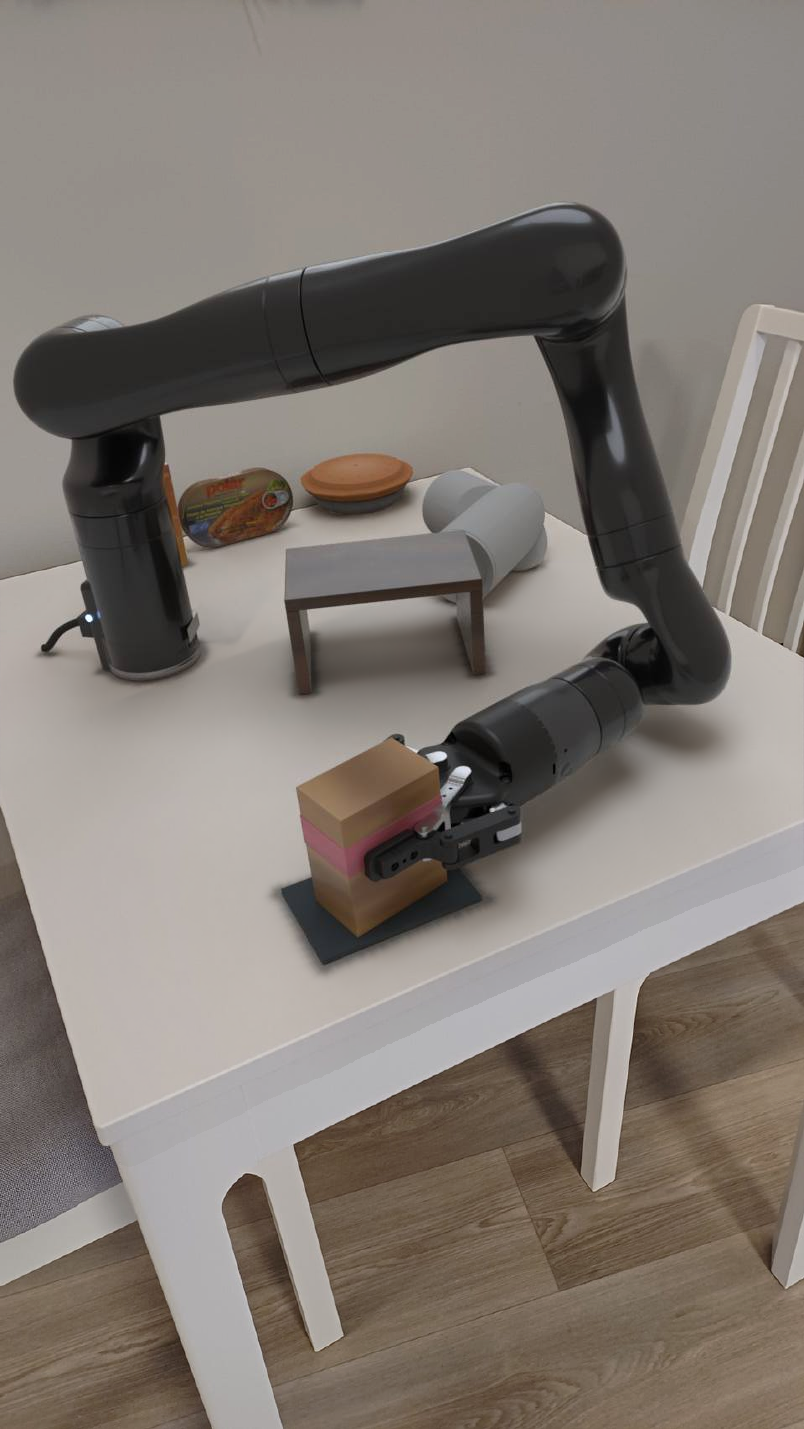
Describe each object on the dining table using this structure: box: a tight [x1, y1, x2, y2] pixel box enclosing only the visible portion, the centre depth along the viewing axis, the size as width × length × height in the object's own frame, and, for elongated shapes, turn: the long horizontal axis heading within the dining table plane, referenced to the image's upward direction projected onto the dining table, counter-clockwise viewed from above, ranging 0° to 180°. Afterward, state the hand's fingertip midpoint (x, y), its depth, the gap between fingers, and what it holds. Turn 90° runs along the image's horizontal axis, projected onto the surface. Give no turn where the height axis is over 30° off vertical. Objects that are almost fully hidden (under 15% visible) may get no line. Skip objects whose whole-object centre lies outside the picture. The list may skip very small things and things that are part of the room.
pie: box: [300, 453, 414, 515], centre depth 136 cm, size 16×16×5 cm
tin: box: [177, 467, 294, 549], centre depth 127 cm, size 15×3×8 cm, turn 117°
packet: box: [295, 738, 447, 937], centre depth 67 cm, size 8×5×10 cm, turn 129°
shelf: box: [283, 530, 487, 695], centre depth 97 cm, size 12×18×10 cm, turn 95°
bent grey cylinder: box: [421, 469, 548, 604], centre depth 113 cm, size 18×11×20 cm
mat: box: [280, 867, 483, 965], centre depth 70 cm, size 12×8×1 cm, turn 116°
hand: (342, 848), depth 66 cm, fingers closed on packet, 5 cm apart
